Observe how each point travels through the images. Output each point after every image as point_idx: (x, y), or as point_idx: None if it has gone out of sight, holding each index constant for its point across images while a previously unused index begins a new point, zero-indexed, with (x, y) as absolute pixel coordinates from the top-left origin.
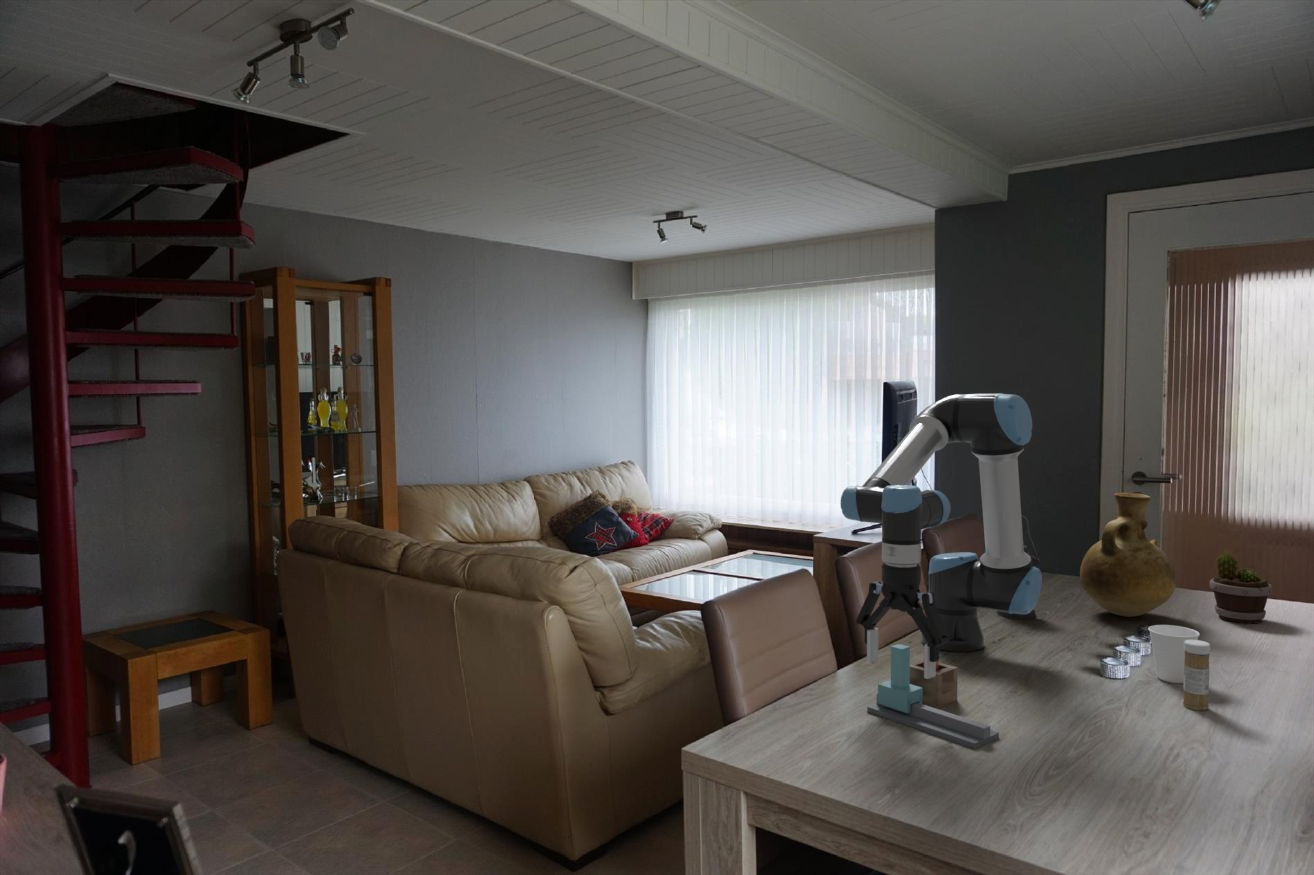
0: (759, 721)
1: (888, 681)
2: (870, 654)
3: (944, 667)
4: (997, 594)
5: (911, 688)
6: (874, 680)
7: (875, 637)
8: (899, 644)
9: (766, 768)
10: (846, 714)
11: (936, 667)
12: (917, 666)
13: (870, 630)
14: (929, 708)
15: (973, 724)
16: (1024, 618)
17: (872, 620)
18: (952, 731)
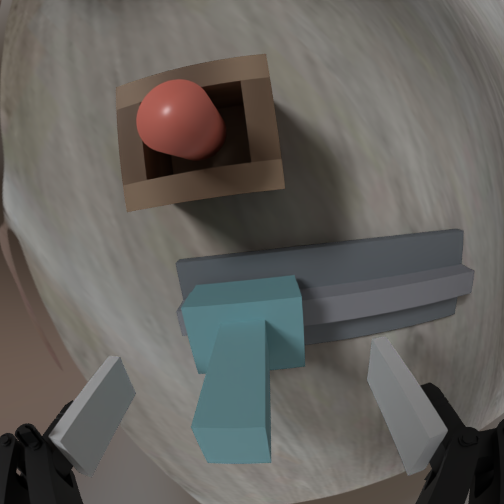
0: (163, 460)
1: (193, 337)
2: (125, 410)
3: (225, 84)
4: None
5: (284, 330)
6: (57, 178)
7: (86, 429)
8: (200, 431)
9: (283, 500)
10: (191, 383)
11: (221, 127)
12: (162, 179)
13: (84, 471)
14: (344, 306)
15: (453, 295)
16: None
17: None
18: (408, 308)
